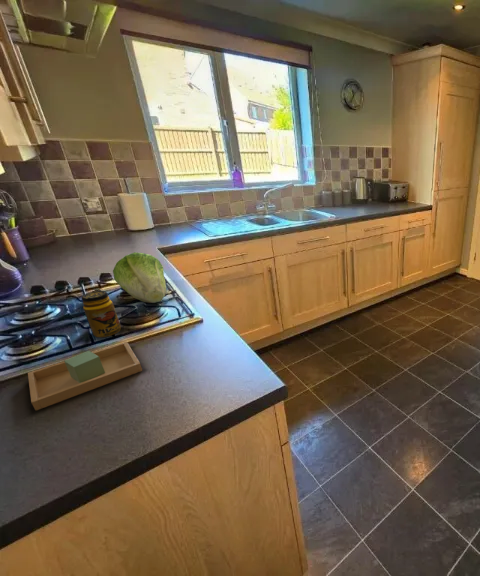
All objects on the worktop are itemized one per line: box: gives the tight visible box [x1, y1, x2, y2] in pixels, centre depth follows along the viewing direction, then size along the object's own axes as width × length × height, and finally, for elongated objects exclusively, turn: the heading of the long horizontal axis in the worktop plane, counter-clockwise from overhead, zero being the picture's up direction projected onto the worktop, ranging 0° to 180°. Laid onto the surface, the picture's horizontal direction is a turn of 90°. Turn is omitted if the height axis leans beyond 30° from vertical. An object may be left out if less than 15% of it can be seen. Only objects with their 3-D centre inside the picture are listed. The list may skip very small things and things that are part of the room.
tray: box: [27, 341, 143, 411], centre depth 73 cm, size 18×13×3 cm
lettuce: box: [112, 251, 167, 304], centre depth 110 cm, size 14×24×14 cm
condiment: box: [81, 290, 122, 338], centre depth 88 cm, size 7×8×12 cm
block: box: [63, 350, 105, 383], centre depth 73 cm, size 4×4×4 cm
